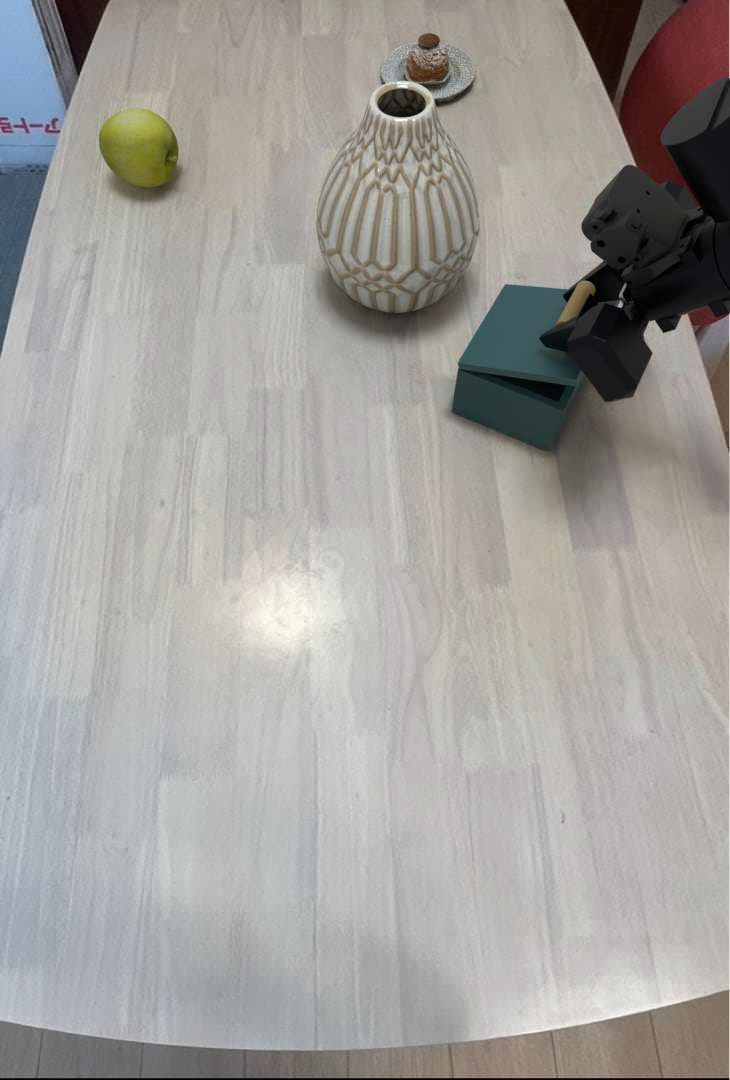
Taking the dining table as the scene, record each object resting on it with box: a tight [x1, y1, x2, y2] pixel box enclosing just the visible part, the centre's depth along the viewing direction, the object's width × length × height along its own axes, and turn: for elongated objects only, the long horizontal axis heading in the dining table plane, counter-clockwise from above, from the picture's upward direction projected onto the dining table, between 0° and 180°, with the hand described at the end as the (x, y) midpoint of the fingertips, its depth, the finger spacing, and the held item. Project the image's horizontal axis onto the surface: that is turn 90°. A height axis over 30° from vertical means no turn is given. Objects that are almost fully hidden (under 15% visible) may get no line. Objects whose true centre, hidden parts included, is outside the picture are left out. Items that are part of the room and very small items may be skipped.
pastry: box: [380, 32, 476, 104], centre depth 94 cm, size 12×12×5 cm
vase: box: [315, 81, 481, 314], centre depth 71 cm, size 16×16×20 cm
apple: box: [98, 107, 180, 188], centre depth 84 cm, size 8×9×8 cm
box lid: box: [457, 281, 621, 387], centre depth 65 cm, size 11×11×4 cm
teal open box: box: [451, 367, 587, 453], centre depth 71 cm, size 10×11×6 cm
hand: (554, 319), depth 64 cm, fingers closed on box lid, 5 cm apart
